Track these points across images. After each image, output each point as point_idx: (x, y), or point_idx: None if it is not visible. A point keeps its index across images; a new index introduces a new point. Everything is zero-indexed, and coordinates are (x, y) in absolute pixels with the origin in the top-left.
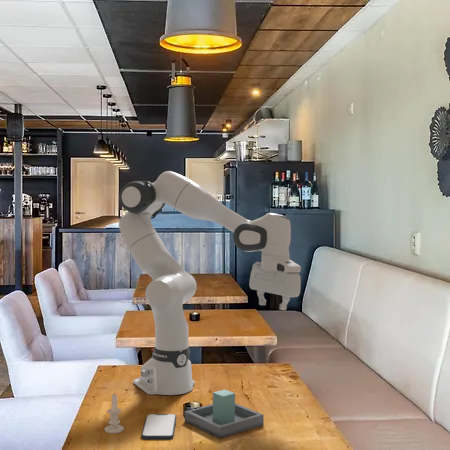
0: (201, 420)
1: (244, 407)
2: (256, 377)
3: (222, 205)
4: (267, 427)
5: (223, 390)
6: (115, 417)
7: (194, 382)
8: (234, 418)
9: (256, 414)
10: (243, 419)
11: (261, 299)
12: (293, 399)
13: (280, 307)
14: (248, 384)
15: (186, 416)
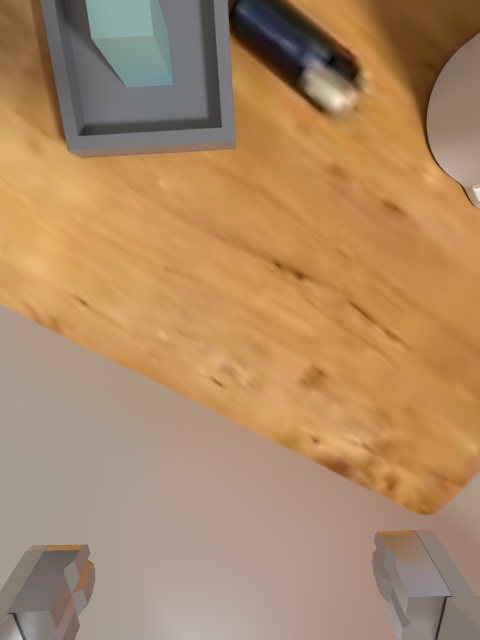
0: None
1: (148, 141)
2: (396, 392)
3: None
4: (63, 156)
5: (144, 18)
6: None
7: (477, 202)
8: (123, 82)
9: (84, 136)
10: (59, 63)
11: (444, 608)
12: (200, 355)
13: (52, 563)
14: (366, 338)
15: None
